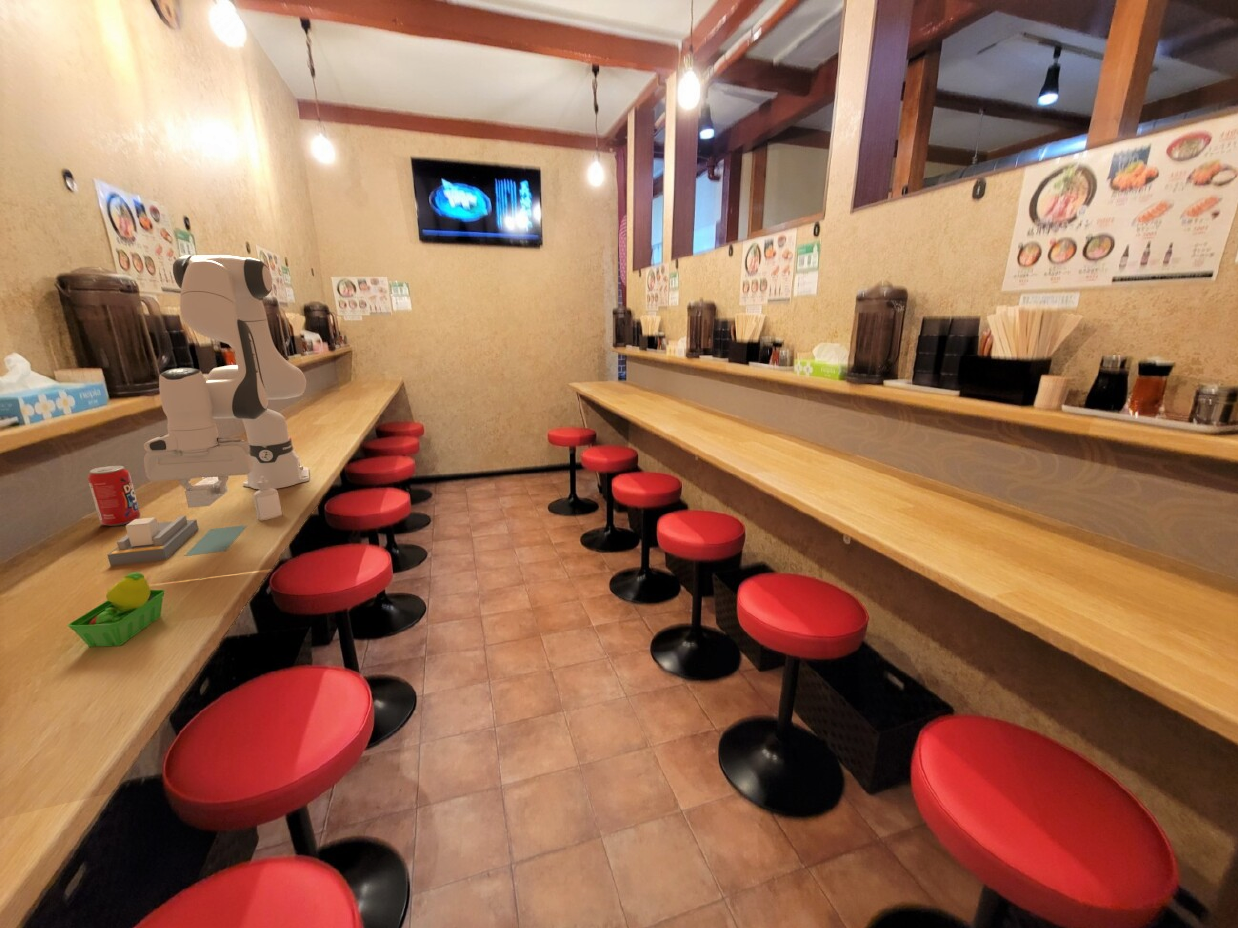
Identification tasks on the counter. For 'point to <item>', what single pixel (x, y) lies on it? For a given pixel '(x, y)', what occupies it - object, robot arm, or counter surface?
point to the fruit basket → (120, 613)
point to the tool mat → (216, 540)
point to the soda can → (113, 495)
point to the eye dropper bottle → (266, 501)
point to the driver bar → (203, 492)
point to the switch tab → (142, 531)
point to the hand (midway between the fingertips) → (207, 494)
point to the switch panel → (155, 543)
